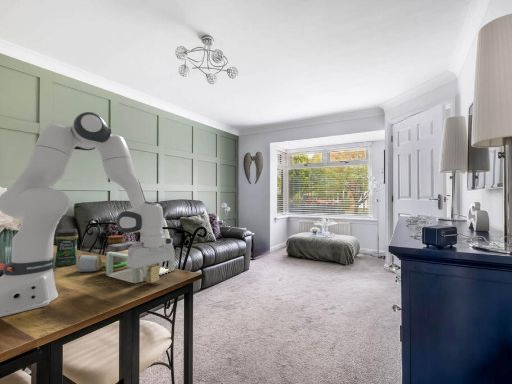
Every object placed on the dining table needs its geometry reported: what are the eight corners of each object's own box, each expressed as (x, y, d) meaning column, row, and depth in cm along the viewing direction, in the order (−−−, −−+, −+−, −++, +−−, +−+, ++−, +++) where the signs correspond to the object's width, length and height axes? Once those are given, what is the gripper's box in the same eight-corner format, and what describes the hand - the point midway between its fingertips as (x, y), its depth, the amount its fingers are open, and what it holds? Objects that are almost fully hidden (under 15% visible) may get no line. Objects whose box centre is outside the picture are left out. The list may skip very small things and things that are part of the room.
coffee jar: (53, 267, 134) (53, 230, 134) (57, 263, 141) (57, 228, 141) (76, 265, 138) (76, 229, 139) (78, 261, 145) (79, 227, 146)
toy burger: (95, 266, 136) (96, 237, 136) (118, 261, 147) (119, 234, 147) (110, 269, 130) (110, 239, 130) (133, 264, 141) (133, 235, 142)
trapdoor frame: (135, 283, 110) (135, 258, 110) (106, 275, 121) (106, 252, 121) (174, 271, 128) (174, 249, 129) (146, 265, 139) (146, 244, 139)
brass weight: (151, 282, 107) (151, 267, 107) (143, 280, 110) (143, 265, 110) (159, 279, 110) (159, 265, 111) (151, 277, 113) (151, 263, 113)
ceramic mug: (97, 272, 125) (97, 256, 126) (77, 273, 123) (77, 257, 124) (103, 267, 136) (104, 251, 136) (85, 268, 134) (86, 252, 134)
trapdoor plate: (137, 263, 114) (137, 251, 114) (105, 256, 126) (105, 245, 126) (167, 255, 128) (167, 245, 128) (135, 250, 140) (135, 240, 140)
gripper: (133, 245, 100) (133, 283, 100) (176, 238, 117) (175, 270, 117) (123, 244, 103) (122, 280, 103) (166, 237, 121) (165, 268, 120)
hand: (151, 274), depth 110 cm, fingers closed on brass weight, 4 cm apart
